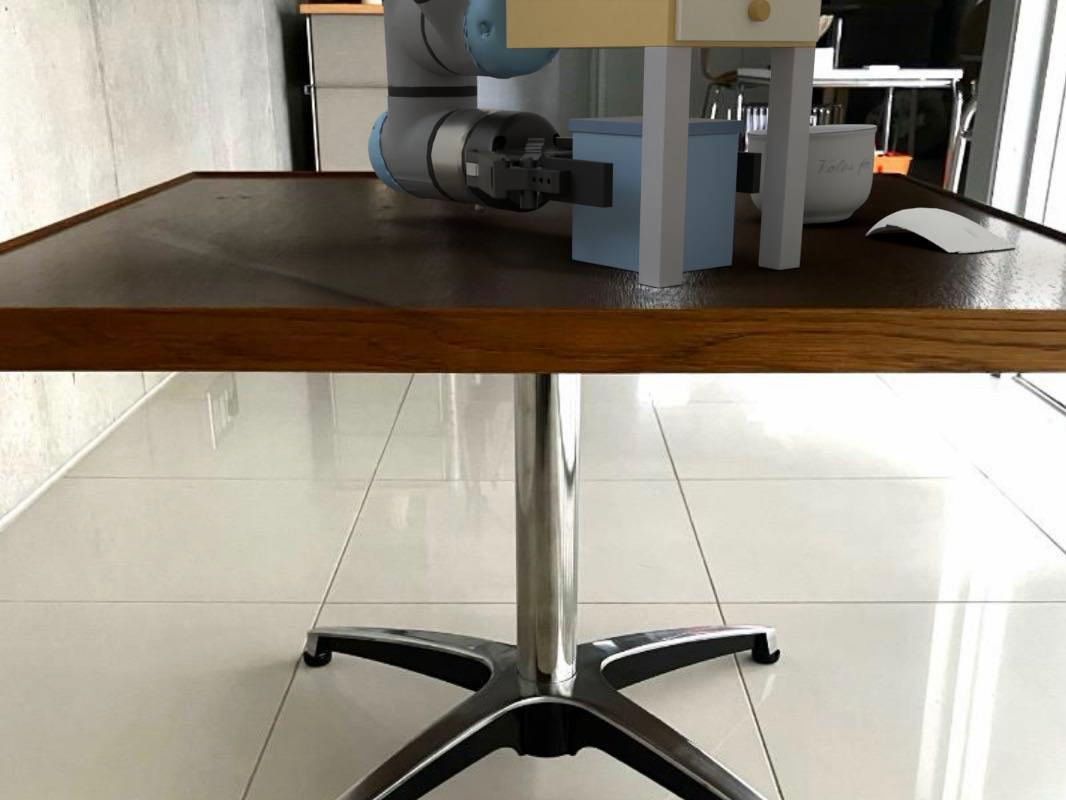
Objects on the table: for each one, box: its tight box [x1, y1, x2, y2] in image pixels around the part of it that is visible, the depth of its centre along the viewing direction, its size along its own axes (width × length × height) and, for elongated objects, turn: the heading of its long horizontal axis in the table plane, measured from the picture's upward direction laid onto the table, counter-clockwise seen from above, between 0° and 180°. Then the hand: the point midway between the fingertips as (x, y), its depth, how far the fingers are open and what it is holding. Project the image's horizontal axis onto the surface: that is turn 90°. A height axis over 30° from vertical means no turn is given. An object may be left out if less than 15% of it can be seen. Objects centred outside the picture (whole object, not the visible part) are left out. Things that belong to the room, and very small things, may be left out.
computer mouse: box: [865, 207, 1016, 254], centre depth 94 cm, size 7×12×2 cm, turn 26°
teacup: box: [746, 123, 878, 225], centre depth 107 cm, size 14×11×8 cm
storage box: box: [568, 115, 744, 273], centre depth 84 cm, size 9×7×10 cm
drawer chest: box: [506, 0, 822, 289], centre depth 81 cm, size 17×13×22 cm
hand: (686, 179), depth 81 cm, fingers open, 13 cm apart
